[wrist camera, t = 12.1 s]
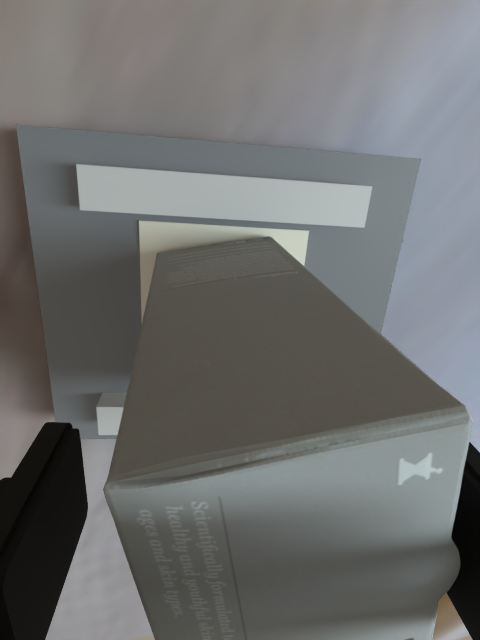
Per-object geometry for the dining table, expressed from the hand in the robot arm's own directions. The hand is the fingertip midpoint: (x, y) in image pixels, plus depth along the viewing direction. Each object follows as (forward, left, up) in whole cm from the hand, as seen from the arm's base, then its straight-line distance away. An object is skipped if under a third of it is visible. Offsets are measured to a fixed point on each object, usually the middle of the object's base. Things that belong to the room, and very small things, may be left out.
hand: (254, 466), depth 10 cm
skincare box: (0, 0, -13) cm, 13 cm away
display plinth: (0, 0, -16) cm, 16 cm away
